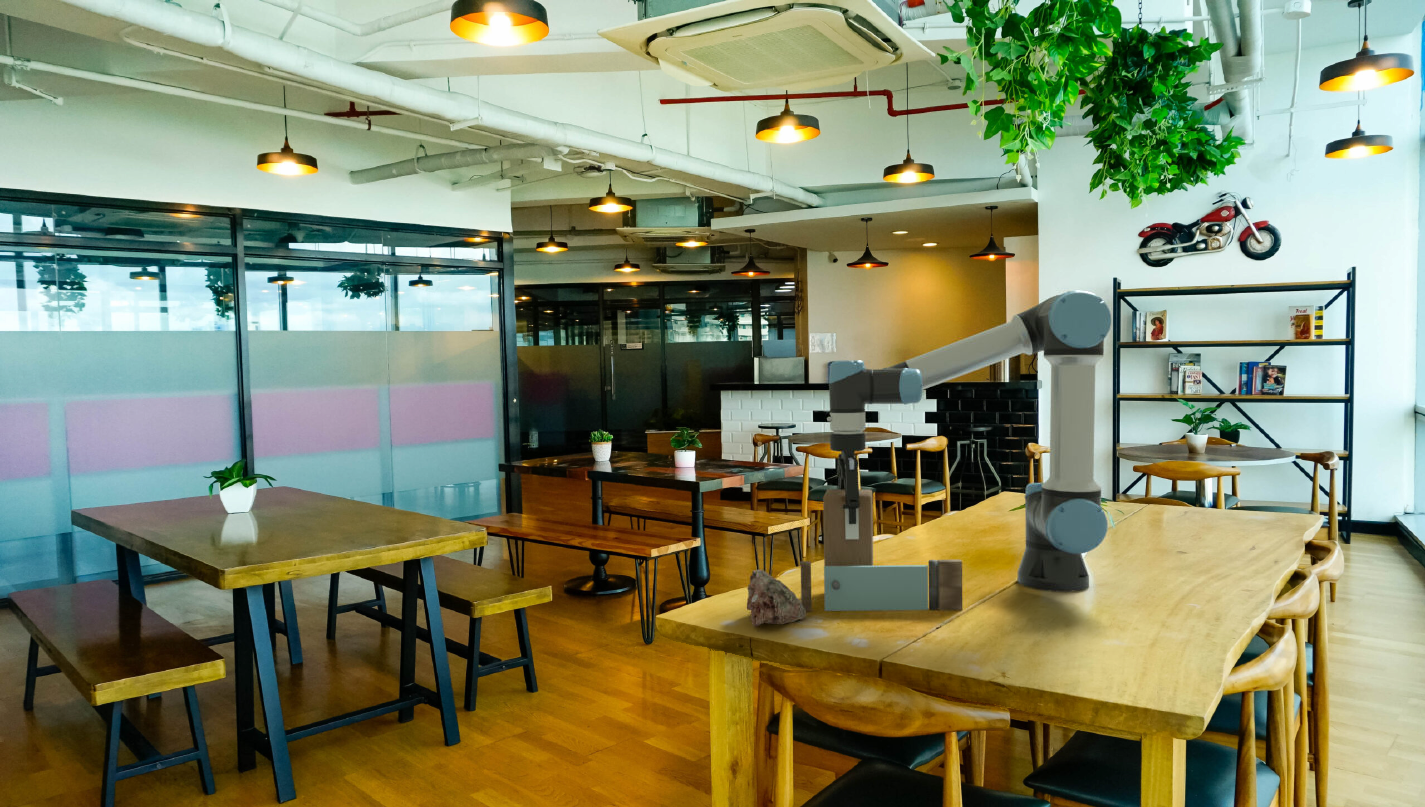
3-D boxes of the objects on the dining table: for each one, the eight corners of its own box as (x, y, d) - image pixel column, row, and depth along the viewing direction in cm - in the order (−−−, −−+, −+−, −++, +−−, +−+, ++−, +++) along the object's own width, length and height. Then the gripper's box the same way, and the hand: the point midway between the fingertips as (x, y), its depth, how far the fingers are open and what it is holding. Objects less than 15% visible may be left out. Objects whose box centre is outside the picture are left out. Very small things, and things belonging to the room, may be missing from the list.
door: (926, 608, 184) (926, 565, 184) (929, 611, 182) (929, 568, 181) (824, 609, 185) (824, 566, 185) (825, 612, 183) (825, 569, 182)
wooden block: (872, 590, 188) (871, 496, 187) (824, 589, 190) (823, 495, 189) (873, 579, 198) (872, 489, 197) (828, 578, 200) (826, 488, 199)
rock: (773, 561, 188) (819, 562, 176) (782, 613, 188) (828, 617, 175) (712, 577, 180) (756, 579, 167) (722, 632, 179) (766, 638, 167)
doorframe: (960, 607, 184) (960, 559, 184) (962, 610, 183) (962, 561, 182) (801, 609, 186) (800, 561, 185) (801, 611, 184) (801, 563, 183)
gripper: (825, 428, 204) (826, 524, 205) (835, 436, 181) (837, 544, 182) (858, 427, 204) (859, 524, 205) (872, 436, 181) (874, 544, 182)
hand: (848, 533), depth 194 cm, fingers closed on wooden block, 11 cm apart
